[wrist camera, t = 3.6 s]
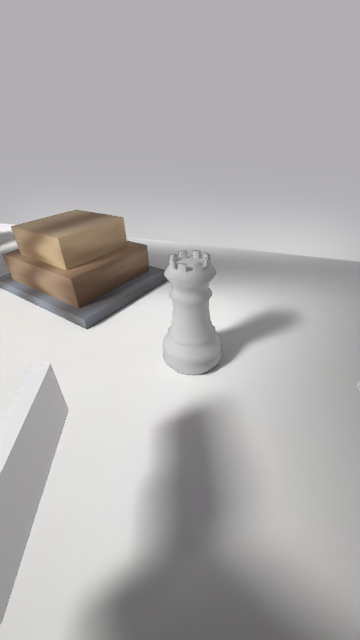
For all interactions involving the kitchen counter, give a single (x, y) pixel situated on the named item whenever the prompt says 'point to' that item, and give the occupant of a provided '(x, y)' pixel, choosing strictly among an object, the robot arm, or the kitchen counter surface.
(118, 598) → the kitchen counter surface
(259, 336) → the kitchen counter surface
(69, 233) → the plinth
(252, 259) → the kitchen counter surface
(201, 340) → the rook chess piece
